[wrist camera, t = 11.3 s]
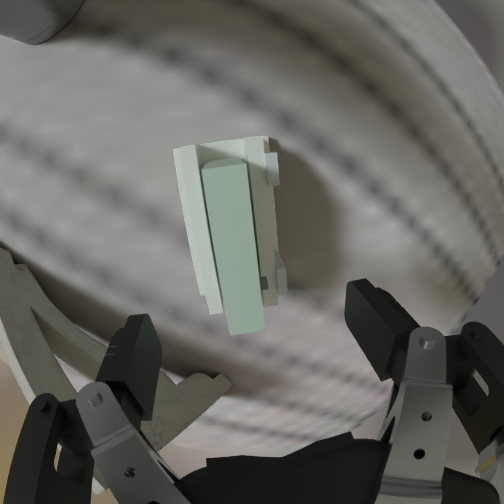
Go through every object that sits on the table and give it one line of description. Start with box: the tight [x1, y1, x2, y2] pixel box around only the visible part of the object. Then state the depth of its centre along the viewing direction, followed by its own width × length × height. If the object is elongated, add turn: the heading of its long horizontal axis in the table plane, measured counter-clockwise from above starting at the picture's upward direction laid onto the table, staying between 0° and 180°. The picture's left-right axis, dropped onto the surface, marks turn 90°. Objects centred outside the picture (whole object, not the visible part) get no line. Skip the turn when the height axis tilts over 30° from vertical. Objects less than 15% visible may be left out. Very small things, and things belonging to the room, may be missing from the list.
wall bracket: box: [0, 248, 234, 495], centre depth 26 cm, size 22×4×30 cm
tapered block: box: [201, 157, 268, 335], centre depth 20 cm, size 11×3×8 cm, turn 6°
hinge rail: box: [173, 136, 288, 315], centre depth 23 cm, size 14×8×5 cm, turn 6°
